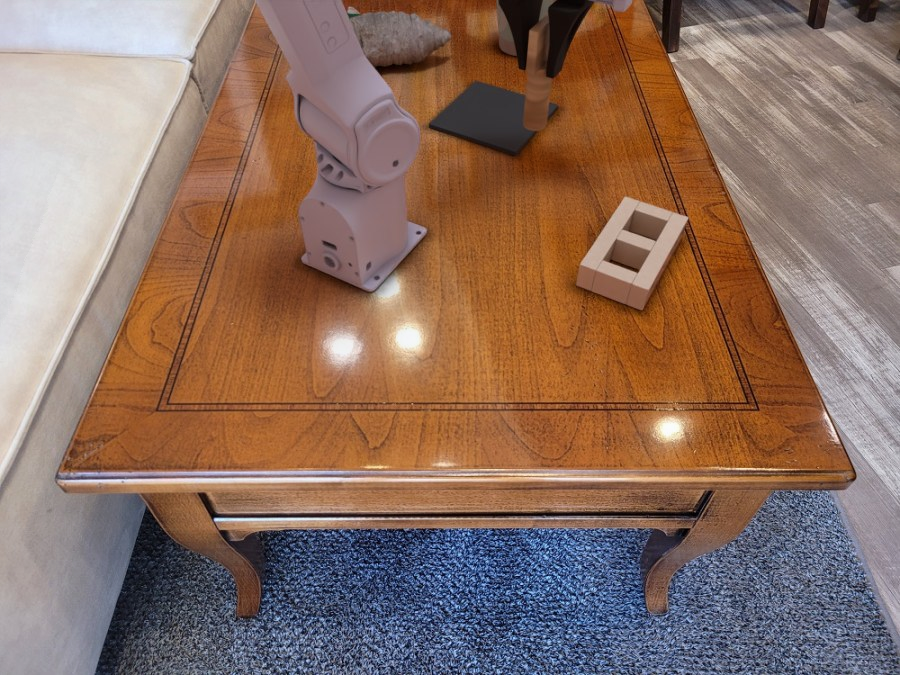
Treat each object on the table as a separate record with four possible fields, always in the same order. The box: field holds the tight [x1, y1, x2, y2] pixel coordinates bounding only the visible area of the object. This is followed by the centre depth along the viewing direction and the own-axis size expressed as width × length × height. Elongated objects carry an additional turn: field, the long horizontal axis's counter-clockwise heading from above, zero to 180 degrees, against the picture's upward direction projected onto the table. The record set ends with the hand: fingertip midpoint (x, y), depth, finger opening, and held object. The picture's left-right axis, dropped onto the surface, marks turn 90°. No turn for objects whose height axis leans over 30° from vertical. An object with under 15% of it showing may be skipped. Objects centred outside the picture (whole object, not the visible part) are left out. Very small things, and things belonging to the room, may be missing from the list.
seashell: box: [350, 10, 452, 68], centre depth 84 cm, size 6×14×8 cm, turn 99°
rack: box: [575, 196, 689, 311], centre depth 61 cm, size 6×11×3 cm, turn 150°
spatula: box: [523, 14, 553, 132], centre depth 65 cm, size 5×2×10 cm, turn 149°
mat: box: [428, 80, 559, 156], centre depth 78 cm, size 11×11×1 cm
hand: (540, 69), depth 64 cm, fingers closed on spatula, 2 cm apart
